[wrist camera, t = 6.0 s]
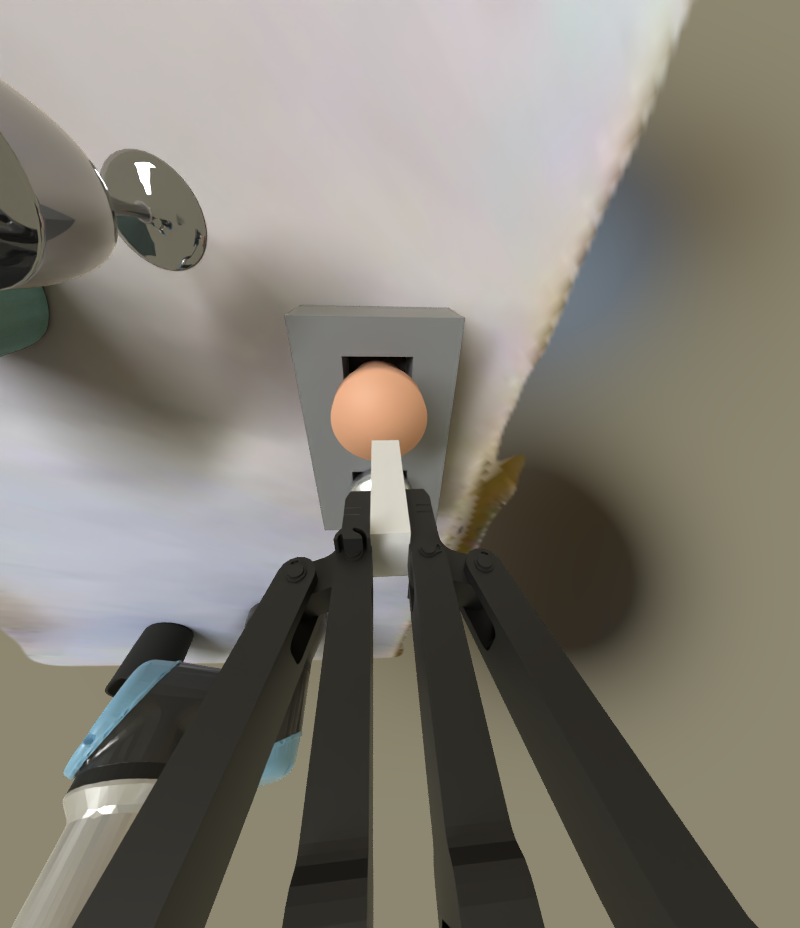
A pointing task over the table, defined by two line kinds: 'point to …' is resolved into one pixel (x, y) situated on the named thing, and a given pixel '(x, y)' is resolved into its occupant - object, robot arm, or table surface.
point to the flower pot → (22, 318)
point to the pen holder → (153, 650)
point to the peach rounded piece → (378, 409)
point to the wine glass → (83, 203)
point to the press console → (326, 365)
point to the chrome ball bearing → (367, 482)
